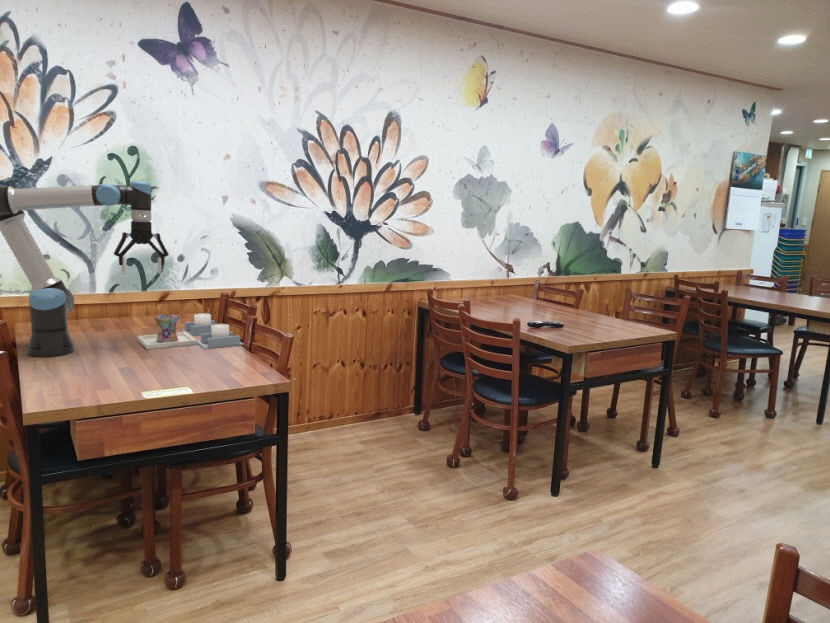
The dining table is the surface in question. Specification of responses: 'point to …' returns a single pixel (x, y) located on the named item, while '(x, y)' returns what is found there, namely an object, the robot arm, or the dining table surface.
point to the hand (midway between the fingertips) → (141, 273)
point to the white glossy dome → (202, 319)
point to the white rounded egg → (219, 330)
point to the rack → (210, 336)
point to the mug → (166, 328)
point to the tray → (151, 343)
